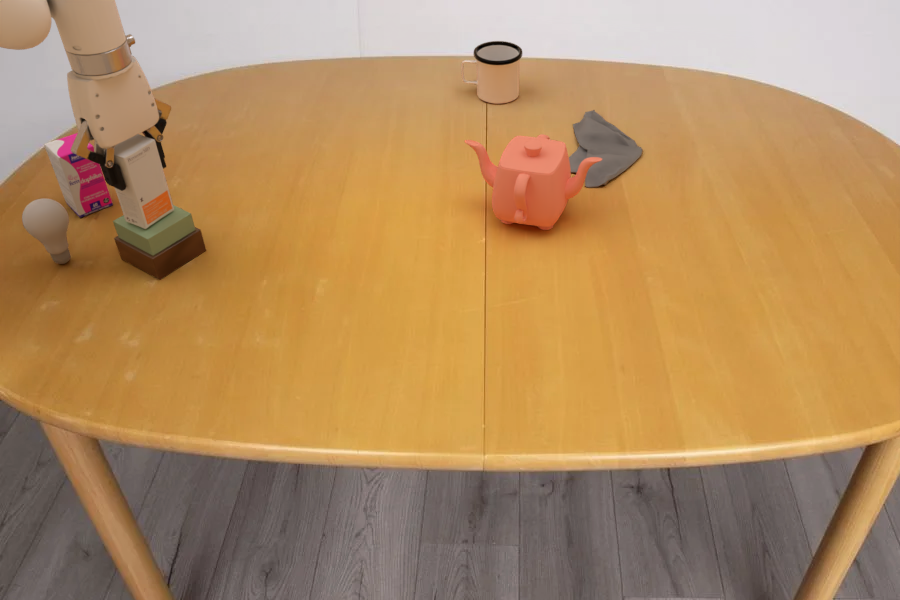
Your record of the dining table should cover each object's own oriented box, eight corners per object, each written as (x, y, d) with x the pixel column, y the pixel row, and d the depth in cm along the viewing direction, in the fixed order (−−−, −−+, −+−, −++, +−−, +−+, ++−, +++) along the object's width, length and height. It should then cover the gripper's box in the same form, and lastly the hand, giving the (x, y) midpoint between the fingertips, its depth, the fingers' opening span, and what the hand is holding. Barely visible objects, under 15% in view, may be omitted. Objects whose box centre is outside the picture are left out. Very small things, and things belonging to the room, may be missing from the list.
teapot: (597, 223, 141) (603, 154, 132) (505, 250, 135) (506, 180, 127) (552, 178, 151) (555, 111, 142) (465, 202, 145) (463, 134, 137)
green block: (153, 255, 128) (147, 239, 126) (118, 237, 131) (112, 221, 129) (195, 229, 133) (191, 213, 131) (161, 212, 136) (156, 196, 134)
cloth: (634, 193, 147) (636, 181, 146) (554, 183, 150) (554, 172, 148) (648, 119, 166) (649, 108, 165) (576, 112, 168) (577, 101, 167)
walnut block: (159, 280, 130) (152, 258, 127) (121, 259, 134) (113, 238, 131) (206, 250, 135) (200, 229, 133) (168, 231, 139) (161, 210, 137)
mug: (525, 85, 176) (525, 42, 170) (518, 107, 170) (518, 63, 164) (466, 81, 178) (465, 38, 172) (457, 103, 171) (455, 59, 165)
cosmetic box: (146, 230, 127) (122, 158, 119) (125, 222, 129) (100, 150, 120) (176, 209, 131) (155, 138, 123) (155, 202, 132) (133, 131, 124)
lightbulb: (78, 245, 136) (54, 185, 129) (90, 265, 133) (66, 204, 125) (37, 259, 134) (10, 199, 126) (49, 280, 130) (21, 218, 123)
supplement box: (80, 219, 142) (56, 157, 134) (66, 204, 145) (41, 143, 137) (115, 205, 145) (93, 144, 137) (99, 191, 148) (77, 130, 140)
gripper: (136, 27, 120) (169, 143, 132) (22, 73, 109) (69, 195, 121) (172, 40, 117) (202, 158, 129) (58, 89, 106) (103, 212, 118)
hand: (137, 175), depth 125 cm, fingers closed on cosmetic box, 6 cm apart
